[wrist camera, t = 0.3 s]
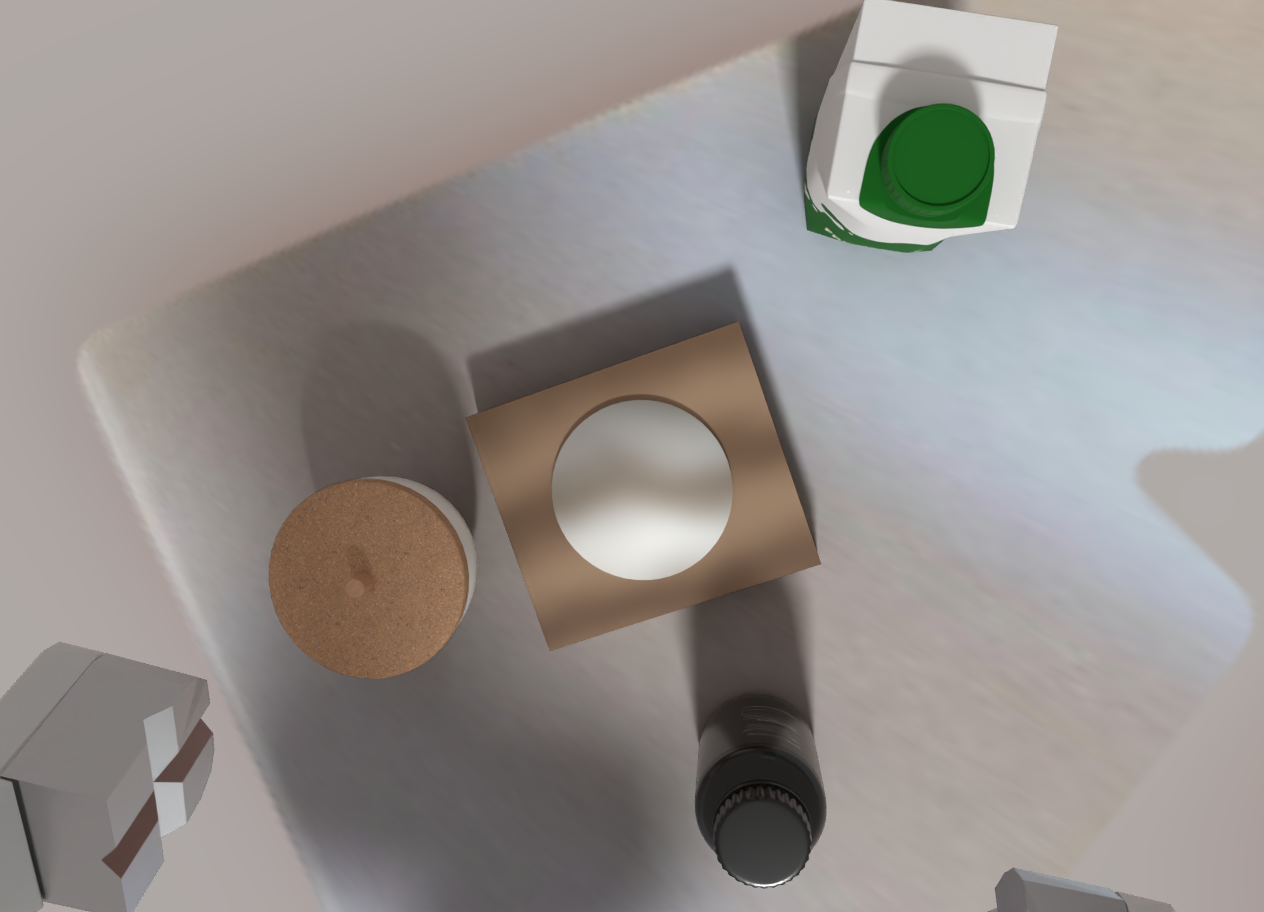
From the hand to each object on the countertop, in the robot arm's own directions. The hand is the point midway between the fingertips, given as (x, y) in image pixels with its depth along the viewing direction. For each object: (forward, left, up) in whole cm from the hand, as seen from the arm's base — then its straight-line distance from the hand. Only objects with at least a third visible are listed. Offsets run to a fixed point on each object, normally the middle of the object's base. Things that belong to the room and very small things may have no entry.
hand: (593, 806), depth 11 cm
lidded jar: (-2, +20, -53) cm, 56 cm away
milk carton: (+10, -13, -53) cm, 55 cm away
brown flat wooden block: (-2, +5, -52) cm, 53 cm away
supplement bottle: (-19, +4, -53) cm, 56 cm away
